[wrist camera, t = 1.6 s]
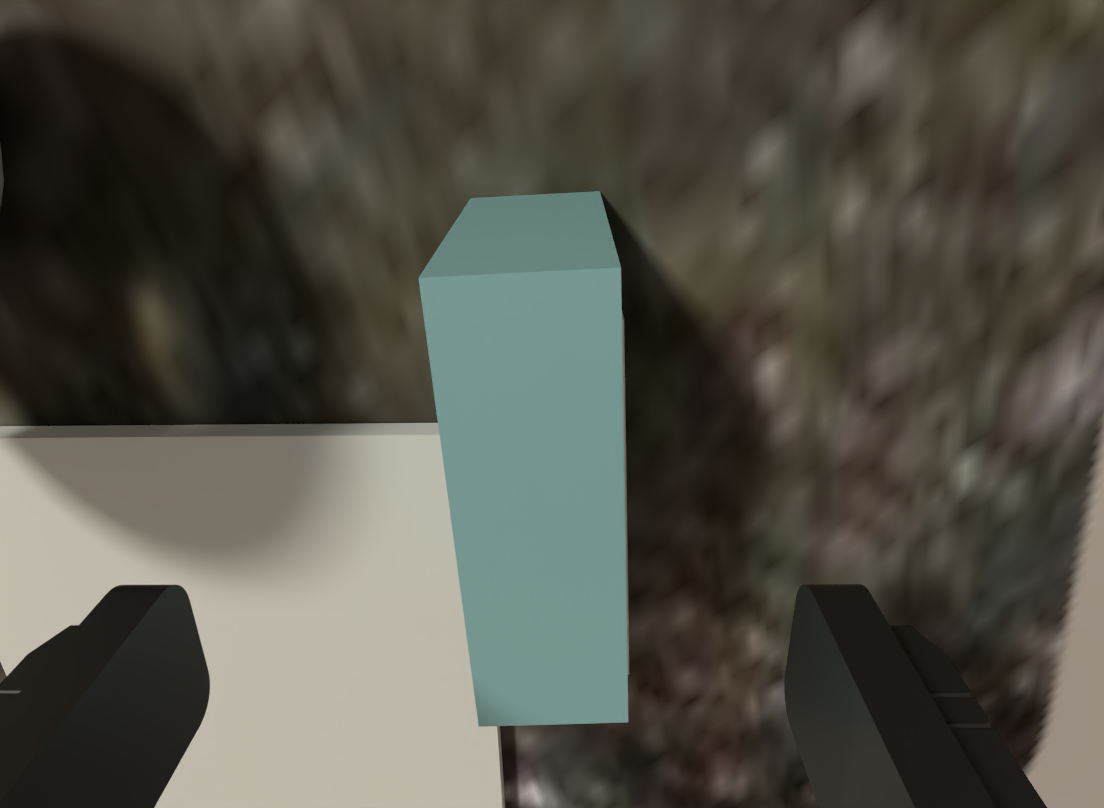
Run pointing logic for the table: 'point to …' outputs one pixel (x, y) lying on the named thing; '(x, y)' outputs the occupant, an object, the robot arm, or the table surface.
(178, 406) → the table surface
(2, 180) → the donut
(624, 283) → the table surface
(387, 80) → the table surface
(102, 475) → the mat
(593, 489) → the box
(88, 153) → the table surface
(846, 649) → the robot arm
